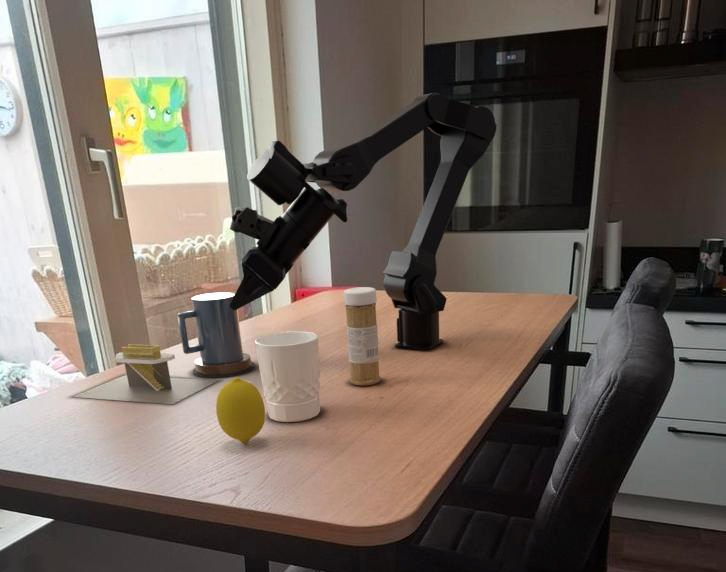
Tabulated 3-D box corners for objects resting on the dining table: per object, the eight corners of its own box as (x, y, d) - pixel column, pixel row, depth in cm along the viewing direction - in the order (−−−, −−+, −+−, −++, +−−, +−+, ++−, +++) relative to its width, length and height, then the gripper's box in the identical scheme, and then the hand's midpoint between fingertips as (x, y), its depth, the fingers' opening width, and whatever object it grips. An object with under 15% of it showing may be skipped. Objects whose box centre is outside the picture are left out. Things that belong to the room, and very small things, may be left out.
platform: (172, 404, 98) (164, 358, 96) (72, 396, 105) (62, 353, 102) (218, 380, 109) (212, 338, 106) (124, 375, 115) (116, 335, 112)
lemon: (223, 437, 85) (214, 372, 82) (269, 433, 85) (261, 369, 82) (219, 453, 80) (208, 386, 77) (267, 449, 80) (259, 382, 77)
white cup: (315, 424, 87) (308, 345, 83) (255, 423, 89) (245, 345, 85) (330, 404, 94) (324, 330, 90) (275, 404, 96) (266, 331, 92)
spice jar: (371, 376, 106) (367, 285, 100) (385, 383, 102) (381, 288, 97) (344, 381, 104) (338, 289, 99) (357, 388, 100) (351, 292, 95)
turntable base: (267, 364, 116) (266, 362, 116) (226, 380, 108) (226, 378, 108) (222, 359, 121) (221, 357, 121) (180, 374, 113) (179, 372, 113)
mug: (236, 357, 120) (227, 289, 115) (260, 367, 113) (252, 295, 109) (176, 370, 115) (164, 299, 110) (198, 381, 108) (186, 305, 103)
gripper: (266, 184, 112) (207, 260, 116) (249, 187, 95) (181, 276, 99) (319, 233, 115) (259, 305, 119) (312, 245, 98) (243, 328, 102)
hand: (236, 303), depth 110 cm, fingers open, 9 cm apart
